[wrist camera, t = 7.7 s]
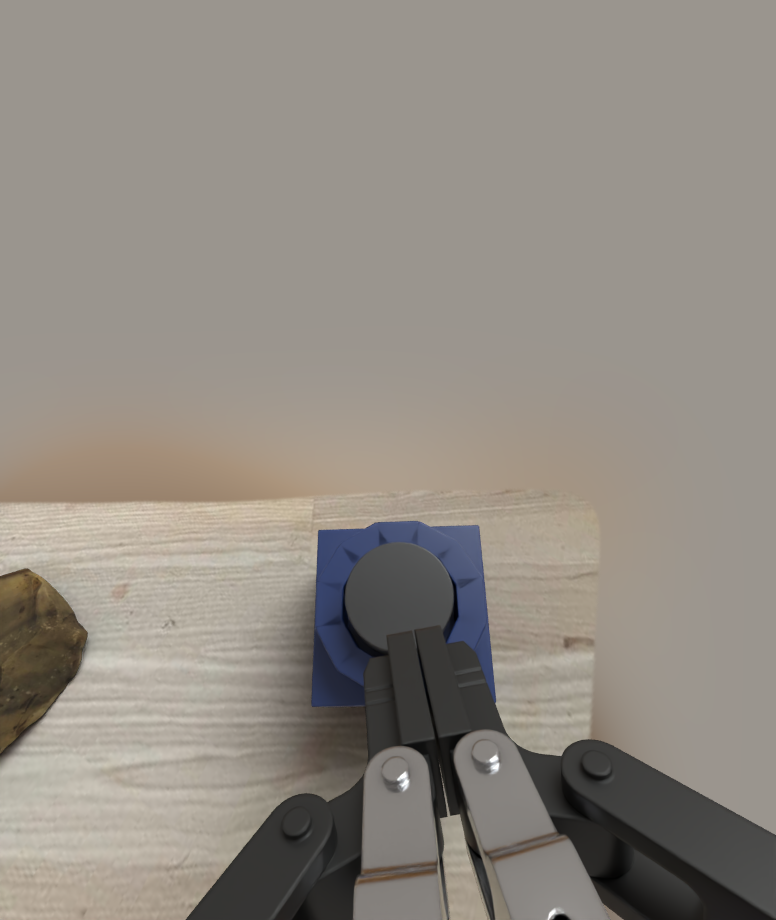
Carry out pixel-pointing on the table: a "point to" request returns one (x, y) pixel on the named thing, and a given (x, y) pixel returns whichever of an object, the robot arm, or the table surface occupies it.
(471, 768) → the robot arm
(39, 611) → the decorative stone
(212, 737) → the table surface
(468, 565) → the near button housing
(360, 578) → the grey push button
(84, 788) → the table surface
